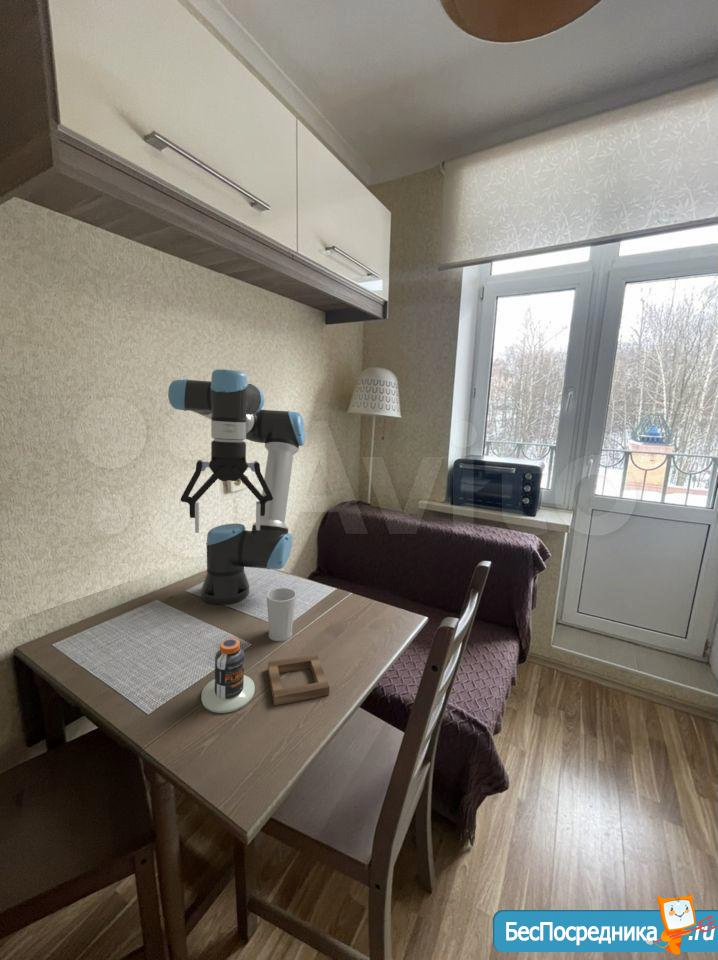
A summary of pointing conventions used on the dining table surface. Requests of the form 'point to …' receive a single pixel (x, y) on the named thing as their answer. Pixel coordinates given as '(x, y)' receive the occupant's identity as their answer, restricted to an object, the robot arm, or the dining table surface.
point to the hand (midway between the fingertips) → (228, 530)
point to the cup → (280, 613)
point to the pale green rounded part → (227, 705)
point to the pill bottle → (229, 669)
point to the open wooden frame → (297, 692)
